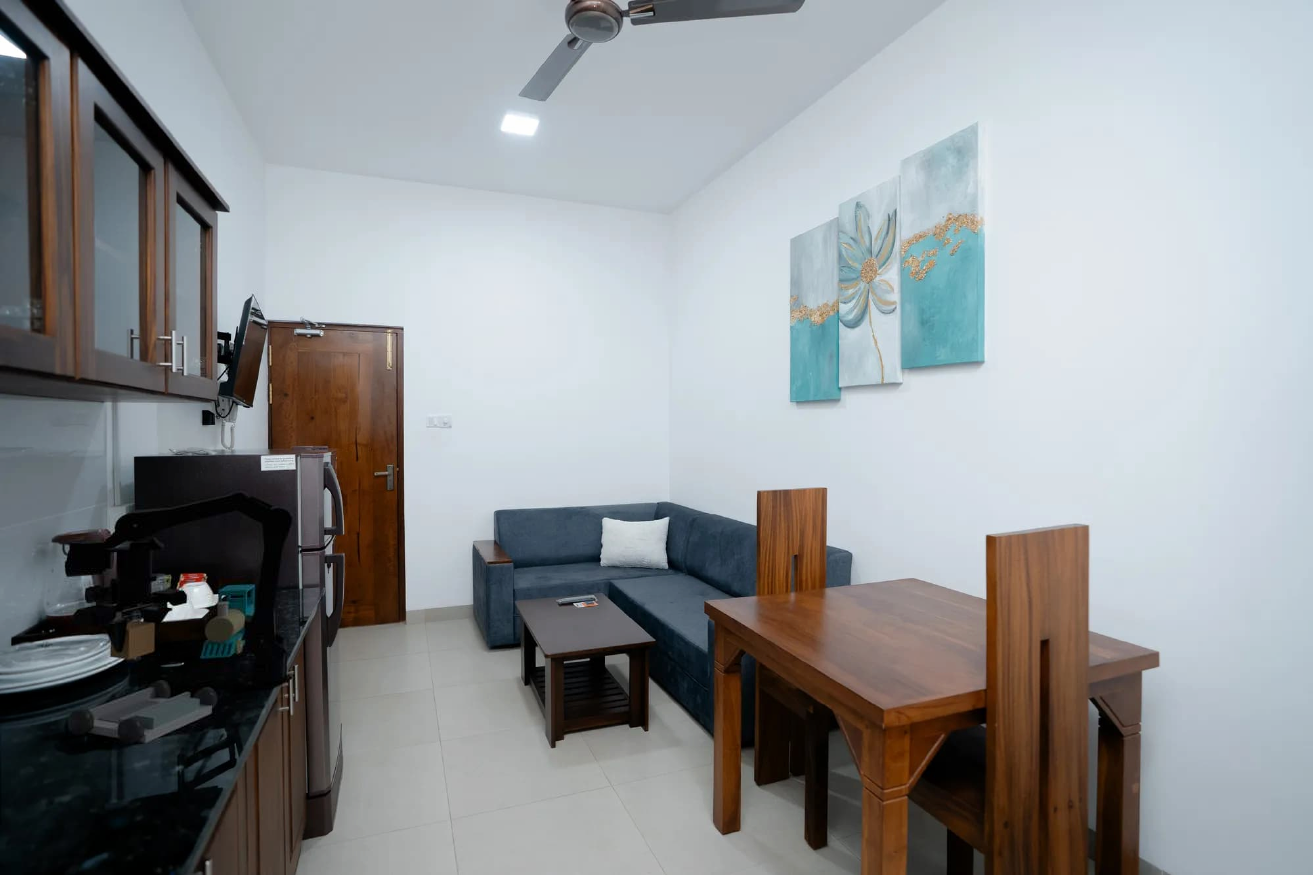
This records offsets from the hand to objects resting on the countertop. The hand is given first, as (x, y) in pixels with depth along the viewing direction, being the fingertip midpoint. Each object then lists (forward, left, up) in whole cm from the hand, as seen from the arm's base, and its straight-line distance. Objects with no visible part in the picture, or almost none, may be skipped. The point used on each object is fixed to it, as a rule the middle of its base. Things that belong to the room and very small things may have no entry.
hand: (132, 648), depth 131 cm
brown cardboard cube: (0, 0, -1) cm, 1 cm away
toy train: (-31, -10, -12) cm, 35 cm away
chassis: (+6, +11, -11) cm, 17 cm away
